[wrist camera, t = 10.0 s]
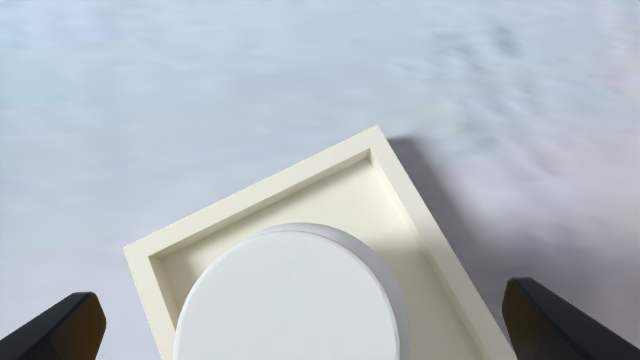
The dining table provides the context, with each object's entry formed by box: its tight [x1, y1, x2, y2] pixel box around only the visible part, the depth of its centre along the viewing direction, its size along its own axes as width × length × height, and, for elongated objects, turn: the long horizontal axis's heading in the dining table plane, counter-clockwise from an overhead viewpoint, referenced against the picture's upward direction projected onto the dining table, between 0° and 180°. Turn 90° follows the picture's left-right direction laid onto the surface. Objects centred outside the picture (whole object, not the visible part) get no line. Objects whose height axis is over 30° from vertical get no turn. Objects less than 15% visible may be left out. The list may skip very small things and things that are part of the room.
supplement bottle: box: [173, 222, 411, 360], centre depth 12 cm, size 5×5×10 cm
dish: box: [122, 125, 517, 360], centre depth 16 cm, size 12×12×2 cm
